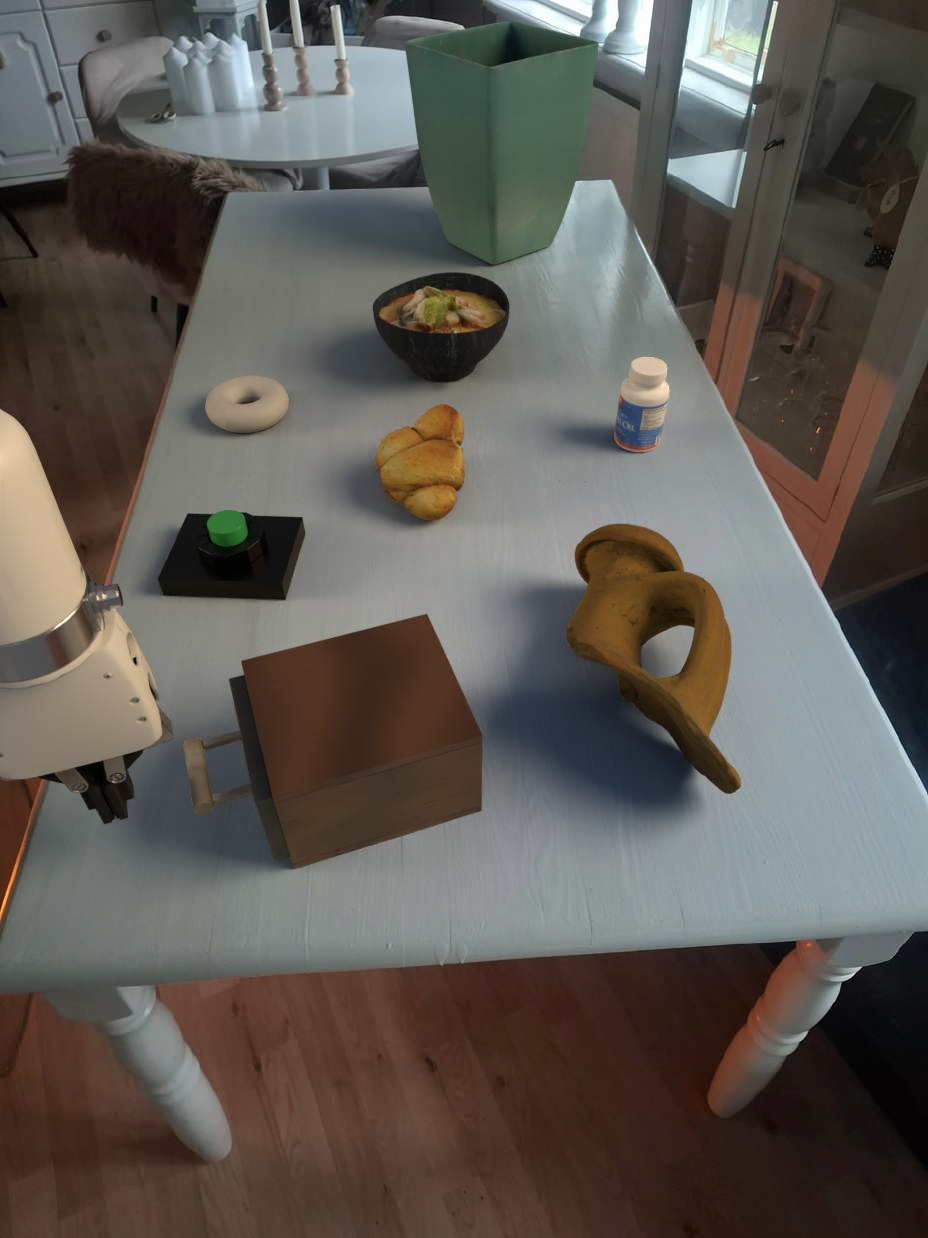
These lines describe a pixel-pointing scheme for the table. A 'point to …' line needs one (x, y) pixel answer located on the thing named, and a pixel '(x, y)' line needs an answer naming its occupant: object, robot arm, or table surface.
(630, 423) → the pill bottle
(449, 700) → the cabinet
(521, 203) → the flower pot
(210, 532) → the button
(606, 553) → the brown looped sculpture
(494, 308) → the bowl
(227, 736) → the drawer
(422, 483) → the bread roll
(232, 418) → the donut
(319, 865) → the table surface
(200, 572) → the block
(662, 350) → the table surface
